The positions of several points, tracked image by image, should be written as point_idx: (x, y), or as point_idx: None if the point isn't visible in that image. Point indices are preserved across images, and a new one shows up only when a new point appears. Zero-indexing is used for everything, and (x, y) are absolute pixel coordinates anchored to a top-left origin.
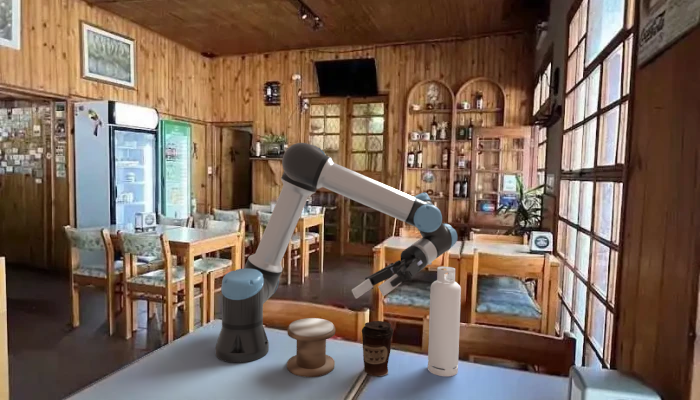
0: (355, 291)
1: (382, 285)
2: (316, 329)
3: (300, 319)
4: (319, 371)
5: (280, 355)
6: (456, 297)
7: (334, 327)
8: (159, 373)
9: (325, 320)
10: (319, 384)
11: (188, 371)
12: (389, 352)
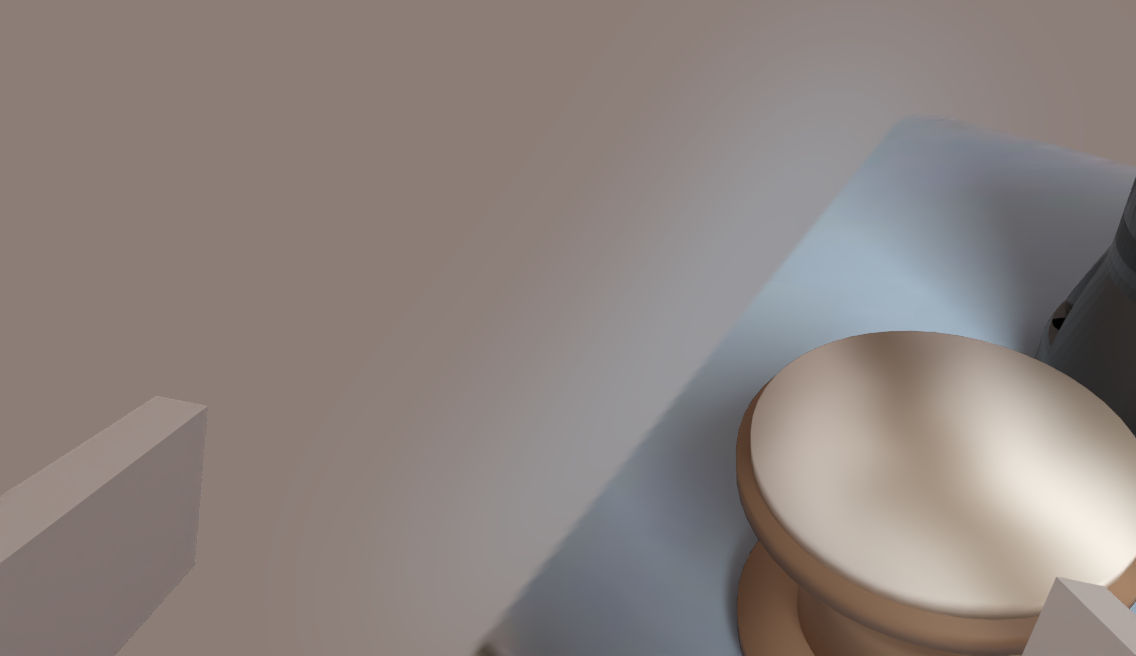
0: (1063, 649)
1: (119, 434)
2: (836, 442)
3: (1122, 425)
4: (749, 604)
5: None
6: None
7: (902, 615)
8: (994, 194)
9: None
10: (652, 573)
11: (989, 243)
12: None
